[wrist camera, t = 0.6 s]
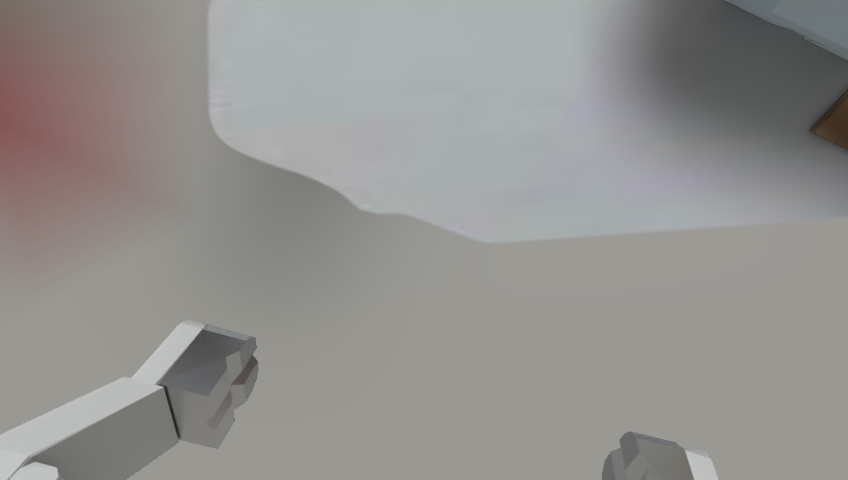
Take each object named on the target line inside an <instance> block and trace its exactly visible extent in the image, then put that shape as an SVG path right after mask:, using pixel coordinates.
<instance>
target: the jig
mask: <svg viewBox="0 0 848 480" xmlns="http://www.w3.org/2000/svg"><path fill="white" fill-rule="evenodd" d="M809 131H811V132H812V133H814V134H816V135H818V136H820V137H822V138H825V139H827V140H829V141H831V142H833V143H835V144H837V145H839V146H841V147H844V148H846V149H848V91H847V92H846V93H845V94H844V95H843V96H842V97H841V98H840V99H839V100H838V101H837V102H836V103H835V104H834V105H833V106H832V107H831V108H830V109H829V111H828V112H827V113H826V114H825V115H824V116H823V117H822V118H821V119H820V120H819V121H818V122H817V123H816V124H815V125H814V126H813V127H812V128H811V129H810V130H809Z"/></svg>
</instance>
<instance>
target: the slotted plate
mask: <svg viewBox="0 0 848 480" xmlns="http://www.w3.org/2000/svg"><path fill="white" fill-rule="evenodd" d="M724 1H726V2H728V3H731V4H733V5H735V6H737V7H739V8H741V9H743V10H745V11H747V12H749V13H751V14H753V15H755V16H757V17H759V18H761V19H763V20H765V21H767V22H769V23H771V24H775V25H778V26H781V27H784V28H788V29H791V30H793V31H795V32H797V33H799V34H802V35H804V37H803V38H802V39H804V40H806V41H808V42H810V43H812V44H814V45H817V46H819V47H821V48H823V49H825V50H827V51H829V52H831V53H833V54H835V55H837V56H839V57H841V58H843V59H845V60H847V61H848V0H724Z"/></svg>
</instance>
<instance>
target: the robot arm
mask: <svg viewBox="0 0 848 480" xmlns="http://www.w3.org/2000/svg"><path fill="white" fill-rule="evenodd" d="M256 348H257V346H256V338H255V337H251V336H248V335H244V334H240V333H237V332H233V331H230V330H226V329H222V328H219V327H215V326H212V325H208V324H204V323H201V322H197V321H193V320H189V319H187V320H185V321H184V322H182V323H180V324H179V325H178V326H177V327H176V328H175V329H174V331H173V332H172V333H171V334H170V335H169V336H168V337H167V339H166V340H165V341H164V342H163V343H162V344H161V345H160V347H158V349H157V350H156V351H155V352H154V353H153V354H152V355H151V357H150V358H149V359H148V360H147V361H146V362H145V363H144V364H143V365H142V367H141V368H140V369H139V370H138V371H137V372H136V373H135V374H134V376H133V377H132V378H129V377H122V378H120V379H118V380H116V381H114V382H112V383H110V384H107V385H105V386H103V387H101V388H99V389H97V390H95V391H93V392H90V393H88V394H86V395H84V396H82V397H80V398H78V399H76V400H73V401H71V402H69V403H67V404H65V405H63V406H61V407H58V408H56V409H55V410H52V411H50V412H48V413H46V414H44V415H41V416H39V417H37V418H35V419H33V420H31V421H29V422H27V423H24V424H22V425H20V426H18V427H16V428H14V429H12V430H9V431H7V432H5V433H3V434H1V435H0V480H126V479H128V478H129V477H131V476H132V475H134V474H135V473H136V472H138V471H139V470H141V469H142V468H143V467H145V466H146V465H148V464H149V463H150V462H152V461H153V460H154V459H156V458H157V457H159V456H160V455H162V454H163V453H164V452H166V451H167V450H169V449H170V448H171V447H173V446H174V445H176V444H177V443H179V440H182V441H186V442H191V443H195V444H200V445H204V446H208V447H212V448H216V449H218V448H219V447H220V445H221V443H222V442H223V440H224V438H225V437H226V435H227V433H228V431H229V430H230V428H231V426H232V425H233V423H234V421H235V418H234V409H236V408H237V407H239V406H241V405H242V404H244V403H246V401H247V399H248V397H249V396H250V394H251V392H252V390H253V387H254V385H255V382H256V379H257V374H258V361H257V360H256V358H255V357H254V356H253V353H254V351H255V350H256ZM620 445H621V448H620V449H617V450H614V451H611V452H610V454H609V455H608V457H607V458H606V460H605V463H604V467H603V472H602V480H718V477H717V474H716V472H715V469H714V466H713V464H712V461H711V459H710V456H709V455H708V454H707V453H706V451H705V450H702V449H699V448H694V447H690V446H686V445H681V444H677V443H676V442H672V441H668V440H664V439H660V438H655V437H651V436H647V435H643V434H639V433H634V432H627V433H625V434H624V435H623V436H622V438H621V439H620Z"/></svg>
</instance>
